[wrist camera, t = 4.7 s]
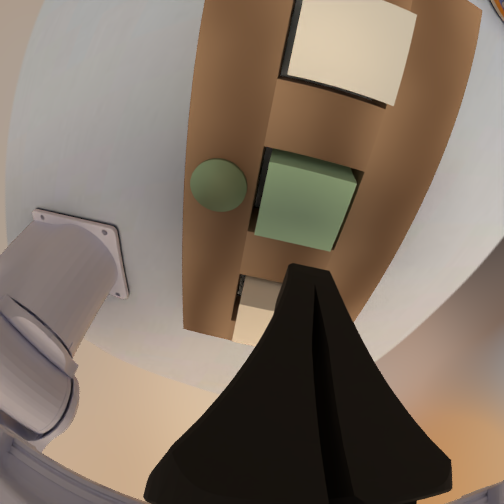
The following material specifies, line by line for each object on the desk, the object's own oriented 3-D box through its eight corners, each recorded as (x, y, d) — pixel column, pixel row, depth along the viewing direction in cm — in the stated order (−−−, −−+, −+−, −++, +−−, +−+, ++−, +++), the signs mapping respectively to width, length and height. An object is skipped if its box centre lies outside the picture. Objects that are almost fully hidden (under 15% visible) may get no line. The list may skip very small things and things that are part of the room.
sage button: (261, 205, 17) (254, 234, 15) (274, 142, 14) (269, 161, 12) (326, 220, 17) (330, 251, 15) (347, 160, 14) (356, 183, 12)
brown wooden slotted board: (191, 305, 24) (182, 331, 22) (232, -54, 8) (219, -73, 5) (327, 333, 24) (328, 360, 22) (458, 12, 8) (485, 10, 5)
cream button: (239, 307, 21) (231, 341, 19) (247, 268, 19) (239, 304, 16) (292, 318, 21) (289, 352, 19) (308, 281, 19) (308, 317, 16)
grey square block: (289, 71, 11) (287, 74, 9) (305, -6, 8) (307, -22, 6) (373, 95, 11) (393, 106, 9) (392, 21, 8) (417, 14, 6)
